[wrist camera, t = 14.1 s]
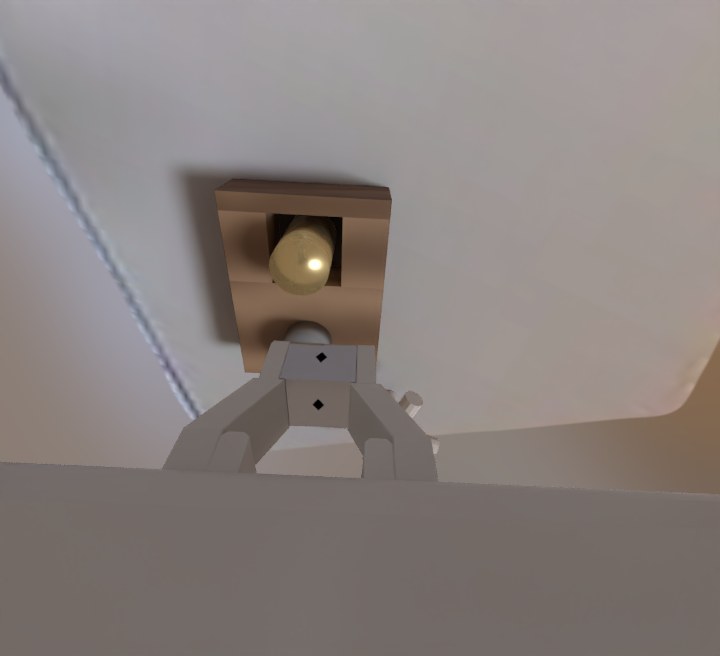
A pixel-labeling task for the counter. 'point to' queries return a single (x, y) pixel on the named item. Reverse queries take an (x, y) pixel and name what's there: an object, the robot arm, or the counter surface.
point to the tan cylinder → (304, 255)
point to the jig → (344, 284)
